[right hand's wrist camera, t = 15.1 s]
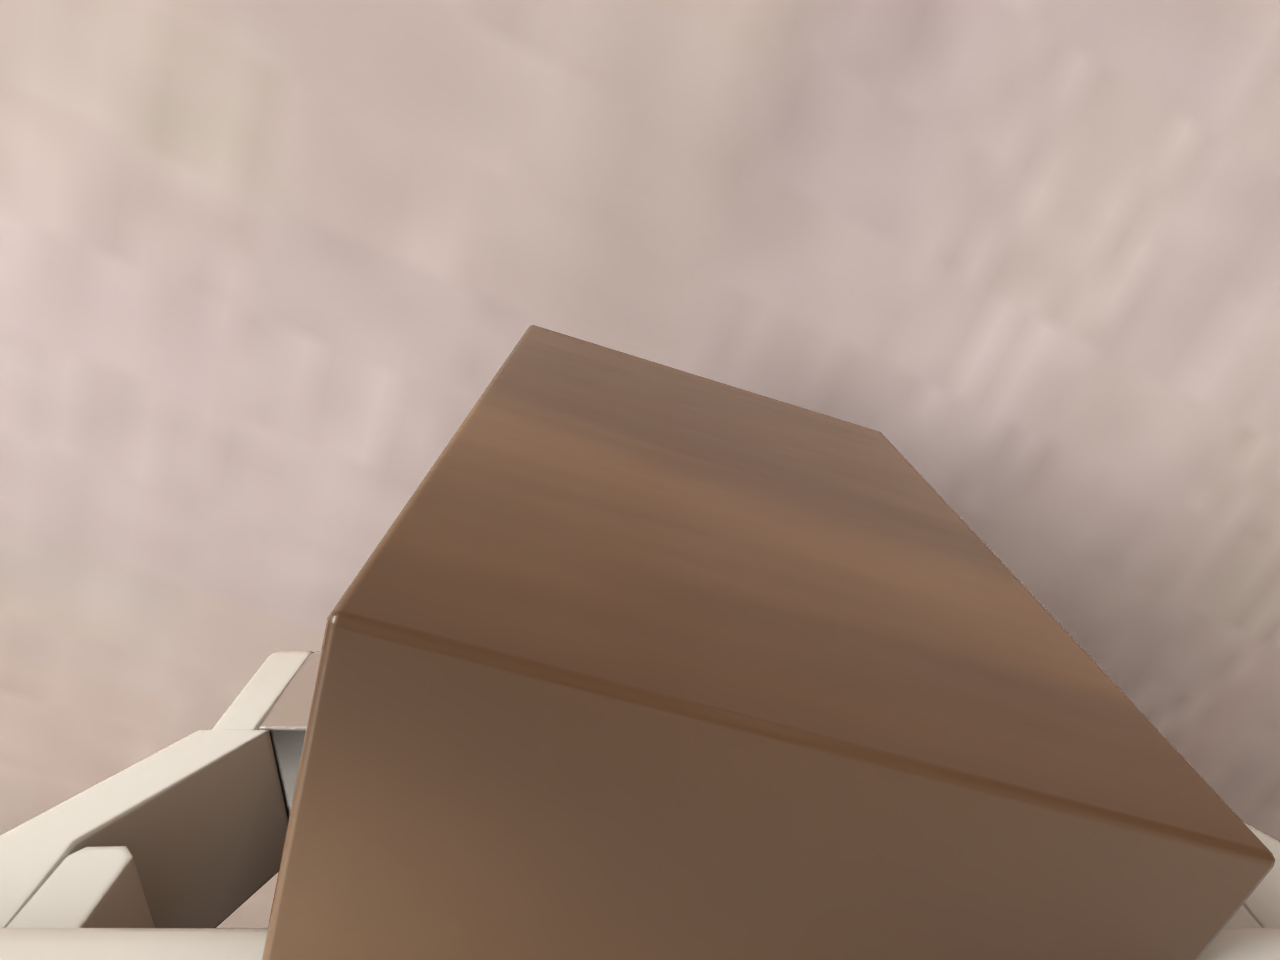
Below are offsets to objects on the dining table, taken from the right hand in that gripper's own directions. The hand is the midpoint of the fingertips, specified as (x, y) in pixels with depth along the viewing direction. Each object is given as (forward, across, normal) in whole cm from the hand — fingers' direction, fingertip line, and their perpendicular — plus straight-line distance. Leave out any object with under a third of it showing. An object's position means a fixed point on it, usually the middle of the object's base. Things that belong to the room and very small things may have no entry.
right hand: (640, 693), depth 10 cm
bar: (+3, -2, -8) cm, 9 cm away
